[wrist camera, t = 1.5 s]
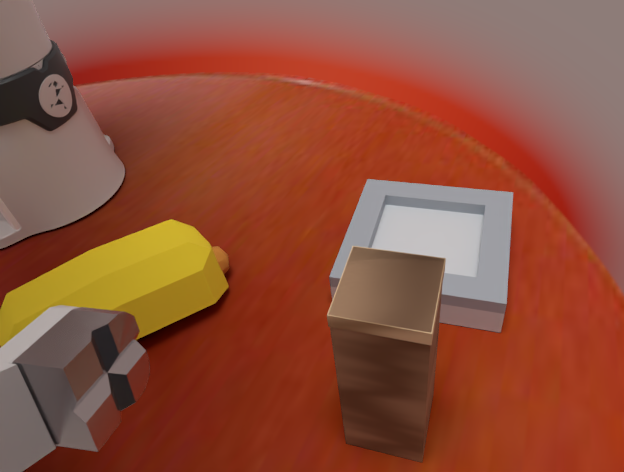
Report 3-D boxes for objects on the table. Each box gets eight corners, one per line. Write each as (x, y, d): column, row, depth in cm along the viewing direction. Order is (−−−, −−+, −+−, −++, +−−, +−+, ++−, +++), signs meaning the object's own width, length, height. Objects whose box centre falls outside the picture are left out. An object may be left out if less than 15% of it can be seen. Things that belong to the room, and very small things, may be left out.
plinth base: (332, 304, 39) (329, 276, 37) (368, 205, 47) (367, 179, 45) (500, 332, 36) (506, 304, 34) (507, 220, 44) (513, 192, 42)
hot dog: (254, 297, 41) (213, 246, 46) (236, 234, 36) (194, 185, 42) (19, 425, 35) (2, 349, 40) (-37, 367, 30) (-47, 290, 35)
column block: (345, 444, 31) (326, 315, 23) (363, 378, 34) (352, 245, 26) (423, 463, 30) (432, 333, 22) (434, 393, 33) (445, 258, 25)
